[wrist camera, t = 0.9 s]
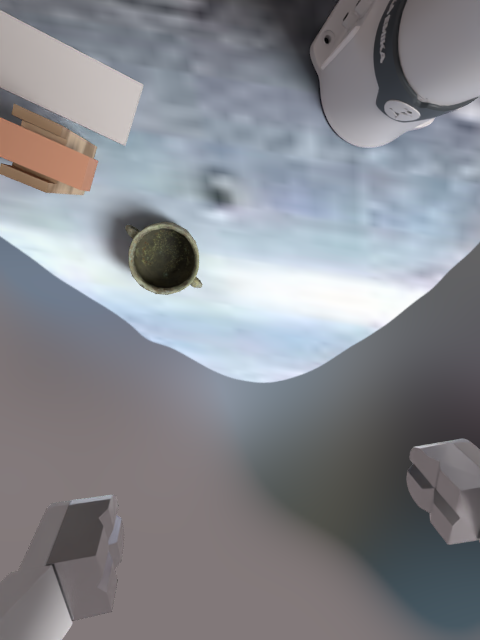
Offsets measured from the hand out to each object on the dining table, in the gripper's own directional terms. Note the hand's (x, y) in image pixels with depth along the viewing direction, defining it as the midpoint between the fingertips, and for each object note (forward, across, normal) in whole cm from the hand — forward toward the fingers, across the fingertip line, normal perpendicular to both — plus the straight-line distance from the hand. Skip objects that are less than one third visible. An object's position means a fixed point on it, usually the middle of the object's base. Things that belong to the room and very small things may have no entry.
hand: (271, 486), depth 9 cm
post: (+41, +15, -12) cm, 45 cm away
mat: (+41, +18, -23) cm, 50 cm away
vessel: (+41, +5, -1) cm, 41 cm away
